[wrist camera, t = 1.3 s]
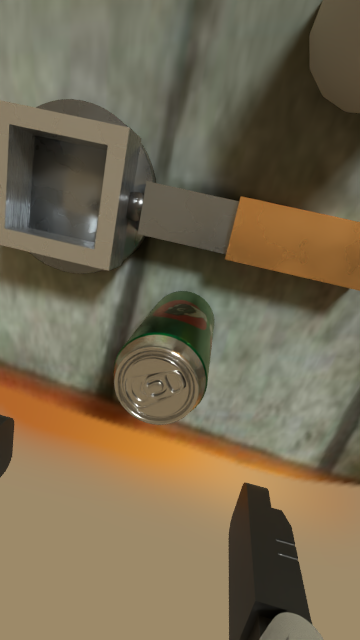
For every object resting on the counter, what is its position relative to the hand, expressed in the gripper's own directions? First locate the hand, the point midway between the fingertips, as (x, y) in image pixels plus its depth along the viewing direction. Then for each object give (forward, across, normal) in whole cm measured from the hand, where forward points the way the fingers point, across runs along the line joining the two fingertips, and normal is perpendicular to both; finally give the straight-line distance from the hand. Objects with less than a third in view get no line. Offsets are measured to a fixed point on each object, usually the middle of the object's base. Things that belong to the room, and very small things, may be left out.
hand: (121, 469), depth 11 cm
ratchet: (+18, +2, -8) cm, 20 cm away
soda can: (+18, 0, 0) cm, 18 cm away
